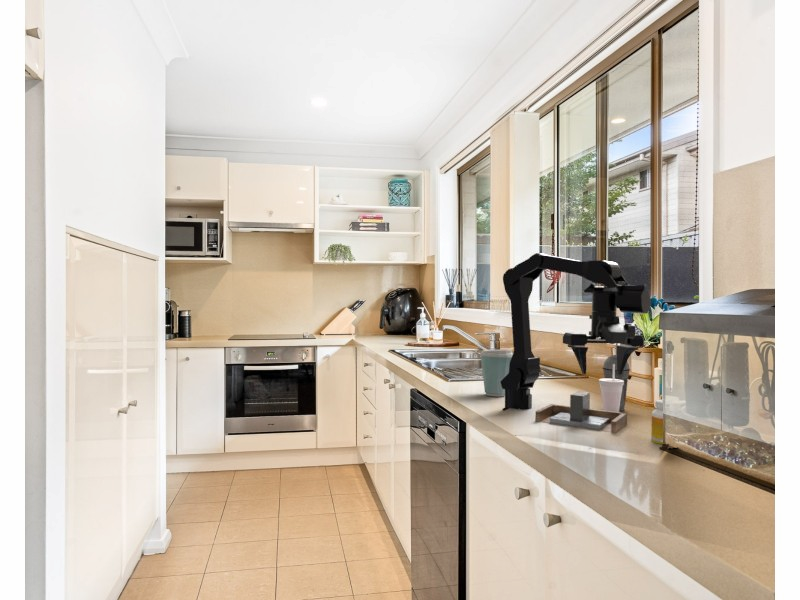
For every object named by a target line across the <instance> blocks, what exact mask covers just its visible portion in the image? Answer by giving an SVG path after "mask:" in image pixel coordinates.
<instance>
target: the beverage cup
mask: <svg viewBox="0 0 800 600" xmlns="http://www.w3.org/2000/svg"><path fill="white" fill-rule="evenodd" d="M618 344H619V343H615V354H612V355H610V356H608V357H607V358H606V359H605V360H604V362H603V366H602V369H603V375H604V378H610V379H612V378H613V364H615V379H620V380H623V381H624V385H623V387H622V394H621V401H620V408H619V412H623V411H625V406H626V399H627V390H628V380H629V376H630V370H631V369H630V364H629V361H627V362H626V365H625V367H624V369H623V372H622V374H621V375H619V374H618V371H617V346H619V345H618Z"/></svg>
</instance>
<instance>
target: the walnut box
mask: <svg viewBox="0 0 800 600" xmlns="http://www.w3.org/2000/svg"><path fill="white" fill-rule="evenodd" d="M561 412H565V413H570V405H563V404H561V405H560V404H555V403H551V404H547V405H546V406H544V407H541V408H540V409H538V410H535V419H534V421H535V422H537V423H543V424H550V425H554V424H553V423H550V418H551V417H553V416H555V415H557V414H559V413H561ZM589 416H596V417H604V418H610V423H609V424H608V425H607V426H605V427H604V428H603V429H601V430H598V431H600V432H607V433H612V434H613V433H614V434H615V433H616V434H617V432H619V431H620V430H621V429H622V428H624V427H625V426H626V425H627V424H628V413H627V412H621V411H619V412H612V411H604V410H603V409H594V408H590V415H589ZM556 425H558V426H561V425H560V424H556ZM564 426H566V427H568V426H567V425H563V427H564ZM570 427H571V428H575V427H574V426H570ZM577 428H578V429H582V428H581V427H577ZM584 429H587V430H589V429H588V428H584ZM591 430H593V431H596V430H595V429H591Z"/></svg>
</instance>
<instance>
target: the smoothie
mask: <svg viewBox="0 0 800 600" xmlns="http://www.w3.org/2000/svg"><path fill="white" fill-rule="evenodd" d="M598 384H599V386H600V395H601V403H602V404H601V405H602V410H604V411H612V412H620V411H619V408H620V401H621V394H622V387H623V385H624V381H623V380H620V379H615V364H613V378H612V379H610V378H605V377H604V378H603V377H602V378H599V379H598Z"/></svg>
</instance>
